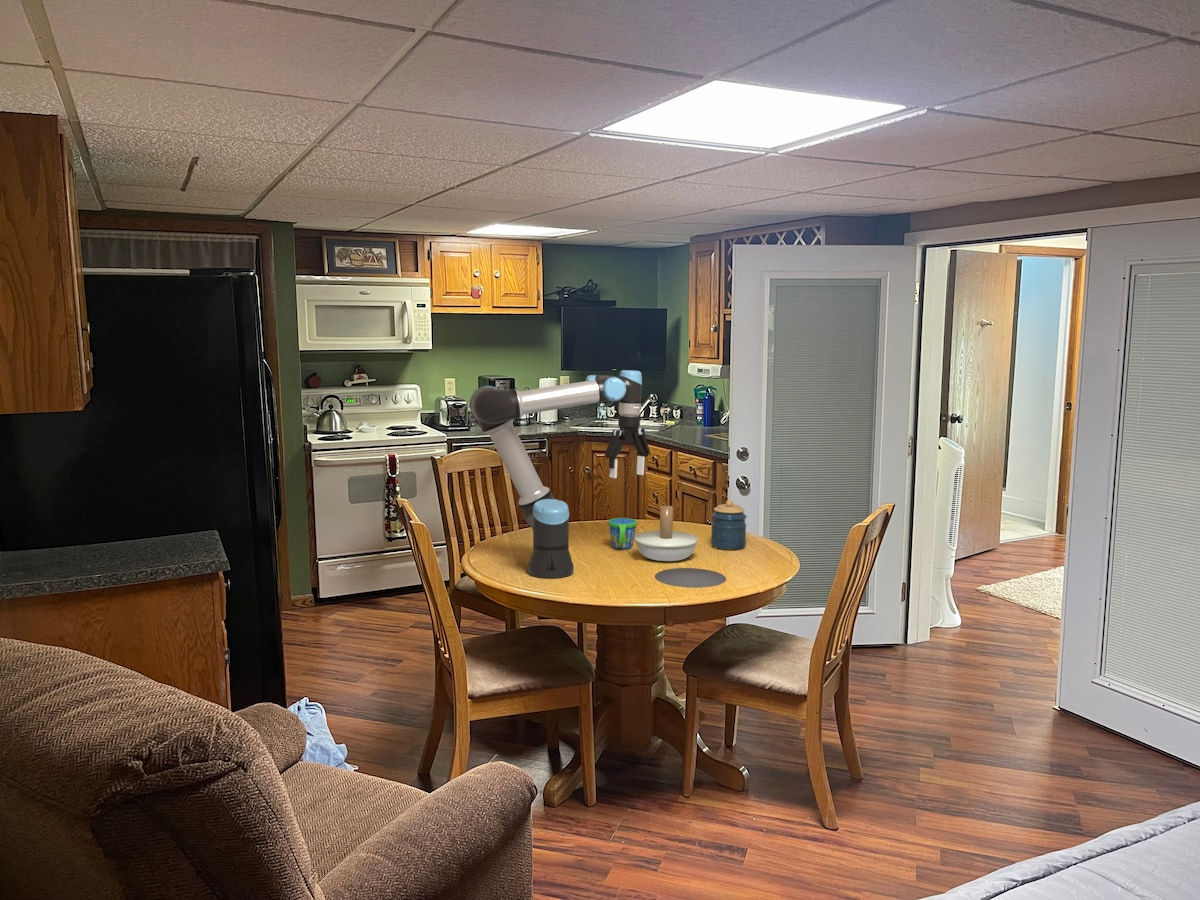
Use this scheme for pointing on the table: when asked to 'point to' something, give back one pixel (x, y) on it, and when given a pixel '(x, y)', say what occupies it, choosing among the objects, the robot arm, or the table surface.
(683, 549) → the serving bowl
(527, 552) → the table surface
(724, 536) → the canister
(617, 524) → the snack cup
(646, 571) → the table surface
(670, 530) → the lid
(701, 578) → the mat
